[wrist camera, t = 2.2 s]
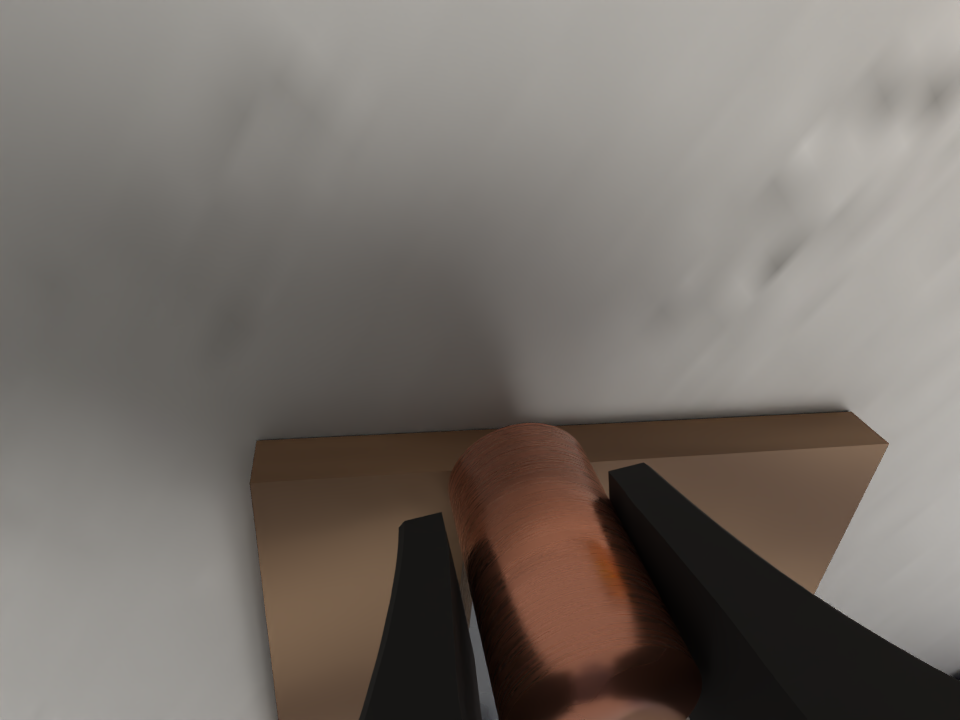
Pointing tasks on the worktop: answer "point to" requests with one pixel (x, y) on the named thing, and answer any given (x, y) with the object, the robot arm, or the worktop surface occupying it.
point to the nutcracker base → (424, 491)
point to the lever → (559, 589)
